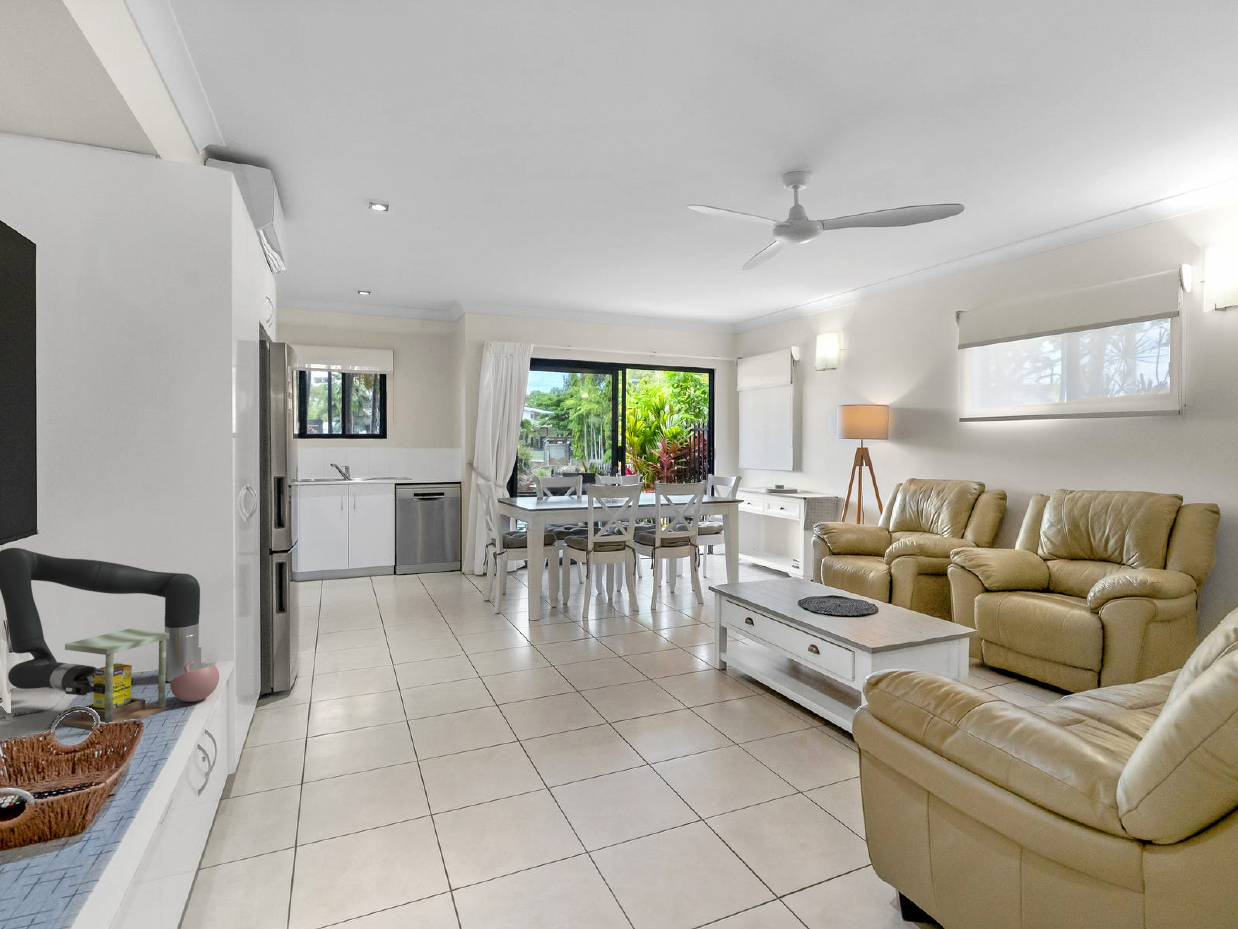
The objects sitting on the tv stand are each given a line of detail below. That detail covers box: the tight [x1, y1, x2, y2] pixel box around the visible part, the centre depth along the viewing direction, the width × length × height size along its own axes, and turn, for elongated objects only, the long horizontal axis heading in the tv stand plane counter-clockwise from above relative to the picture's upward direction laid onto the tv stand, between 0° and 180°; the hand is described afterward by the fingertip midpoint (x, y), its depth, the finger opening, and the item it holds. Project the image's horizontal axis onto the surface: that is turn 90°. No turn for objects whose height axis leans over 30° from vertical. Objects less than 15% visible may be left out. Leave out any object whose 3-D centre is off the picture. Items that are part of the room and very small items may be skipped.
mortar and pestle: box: [169, 661, 220, 703], centre depth 191 cm, size 12×12×12 cm
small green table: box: [62, 628, 169, 730], centre depth 178 cm, size 17×16×22 cm
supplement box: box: [92, 663, 133, 710], centre depth 178 cm, size 6×6×11 cm
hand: (119, 686), depth 177 cm, fingers closed on supplement box, 6 cm apart
